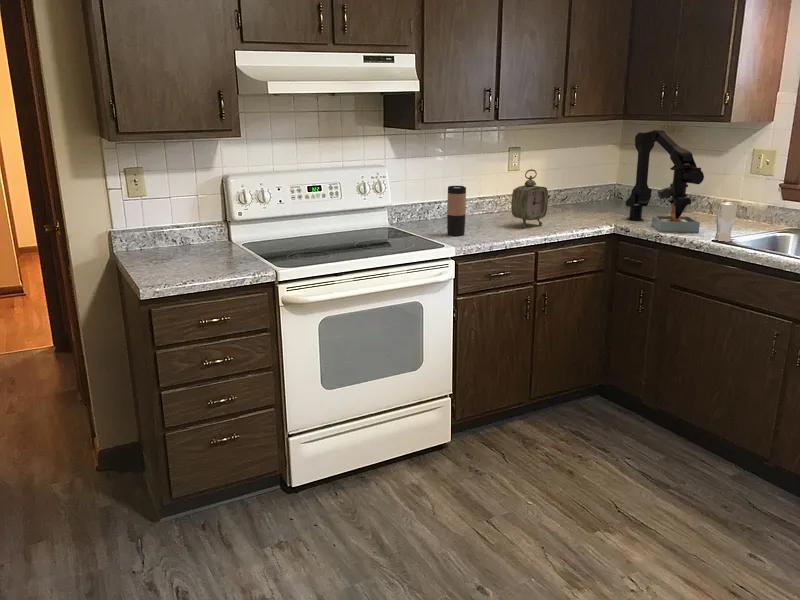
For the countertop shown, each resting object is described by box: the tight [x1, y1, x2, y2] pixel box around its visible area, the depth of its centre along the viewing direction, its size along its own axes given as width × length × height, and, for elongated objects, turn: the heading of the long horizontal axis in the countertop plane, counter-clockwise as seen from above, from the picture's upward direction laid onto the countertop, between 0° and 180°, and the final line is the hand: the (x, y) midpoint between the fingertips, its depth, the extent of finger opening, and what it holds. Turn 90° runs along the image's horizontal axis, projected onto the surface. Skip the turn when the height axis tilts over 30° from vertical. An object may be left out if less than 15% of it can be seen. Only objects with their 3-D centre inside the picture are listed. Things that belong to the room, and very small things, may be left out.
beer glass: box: [714, 201, 738, 243], centre depth 272 cm, size 7×7×15 cm
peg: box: [670, 204, 682, 222], centre depth 296 cm, size 4×4×9 cm
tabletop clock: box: [511, 168, 549, 229], centre depth 302 cm, size 14×9×25 cm, turn 126°
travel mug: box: [446, 185, 467, 237], centre depth 284 cm, size 8×8×20 cm
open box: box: [651, 215, 701, 233], centre depth 297 cm, size 15×16×4 cm
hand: (675, 217), depth 296 cm, fingers open, 4 cm apart
